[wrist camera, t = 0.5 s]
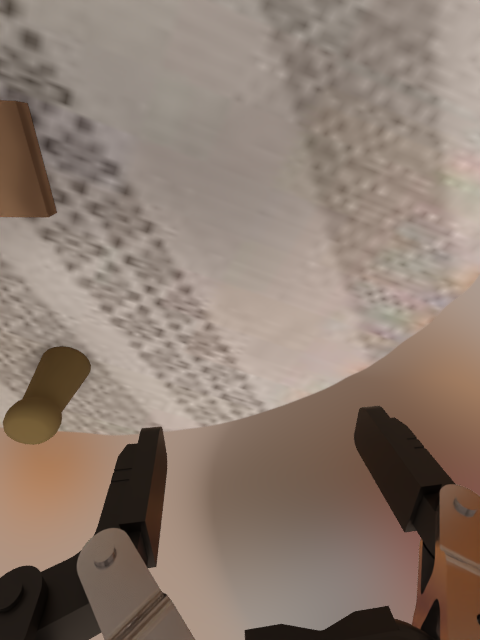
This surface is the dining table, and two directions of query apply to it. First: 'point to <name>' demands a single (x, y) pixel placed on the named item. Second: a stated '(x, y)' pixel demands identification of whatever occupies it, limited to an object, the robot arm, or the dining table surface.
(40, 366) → the cork
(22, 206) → the walnut stand
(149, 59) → the dining table surface
